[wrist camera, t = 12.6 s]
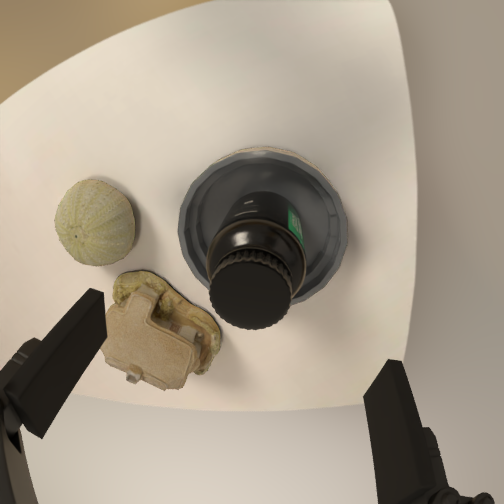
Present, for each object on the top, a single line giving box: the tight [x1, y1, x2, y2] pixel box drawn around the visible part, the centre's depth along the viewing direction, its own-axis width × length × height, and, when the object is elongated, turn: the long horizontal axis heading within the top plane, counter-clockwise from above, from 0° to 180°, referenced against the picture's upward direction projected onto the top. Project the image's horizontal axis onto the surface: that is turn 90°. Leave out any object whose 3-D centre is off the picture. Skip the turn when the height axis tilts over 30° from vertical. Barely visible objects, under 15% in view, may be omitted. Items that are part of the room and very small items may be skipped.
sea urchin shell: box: [54, 179, 135, 267], centre depth 29 cm, size 9×8×8 cm
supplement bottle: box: [206, 191, 307, 330], centre depth 23 cm, size 7×7×12 cm
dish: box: [178, 147, 347, 306], centre depth 27 cm, size 14×14×4 cm
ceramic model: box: [100, 271, 221, 391], centre depth 30 cm, size 14×11×10 cm
